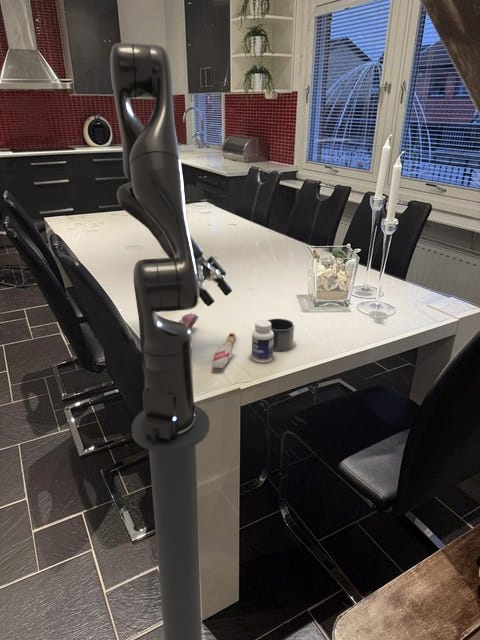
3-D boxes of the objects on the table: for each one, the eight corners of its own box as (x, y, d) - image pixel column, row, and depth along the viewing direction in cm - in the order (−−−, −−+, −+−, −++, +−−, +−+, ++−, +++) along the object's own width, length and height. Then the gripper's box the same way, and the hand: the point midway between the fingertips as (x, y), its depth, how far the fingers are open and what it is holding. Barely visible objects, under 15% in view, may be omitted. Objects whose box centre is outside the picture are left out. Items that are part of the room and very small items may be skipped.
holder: (289, 353, 122) (290, 332, 119) (259, 348, 124) (260, 328, 121) (295, 340, 129) (297, 320, 126) (267, 336, 131) (268, 316, 128)
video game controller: (178, 345, 128) (187, 326, 125) (164, 336, 129) (174, 317, 125) (194, 332, 137) (203, 313, 133) (181, 323, 137) (190, 305, 134)
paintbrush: (208, 361, 110) (226, 330, 129) (208, 371, 111) (226, 339, 130) (224, 362, 110) (239, 331, 128) (224, 372, 111) (239, 340, 129)
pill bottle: (247, 360, 118) (248, 324, 114) (257, 351, 122) (258, 317, 118) (267, 365, 116) (268, 329, 112) (276, 356, 120) (277, 321, 116)
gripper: (171, 243, 106) (215, 299, 106) (204, 231, 118) (244, 282, 117) (153, 262, 110) (195, 316, 110) (187, 249, 122) (225, 298, 122)
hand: (220, 298), depth 114 cm, fingers open, 8 cm apart
